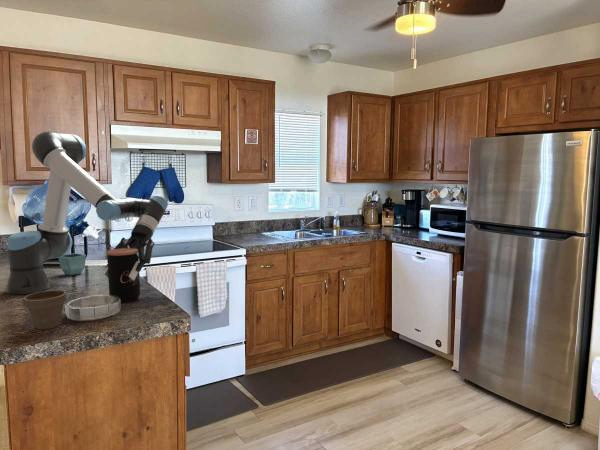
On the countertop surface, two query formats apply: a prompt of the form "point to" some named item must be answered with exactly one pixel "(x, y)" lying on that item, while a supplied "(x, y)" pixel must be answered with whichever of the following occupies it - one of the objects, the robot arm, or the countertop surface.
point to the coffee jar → (123, 274)
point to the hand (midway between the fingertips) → (118, 277)
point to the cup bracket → (92, 307)
